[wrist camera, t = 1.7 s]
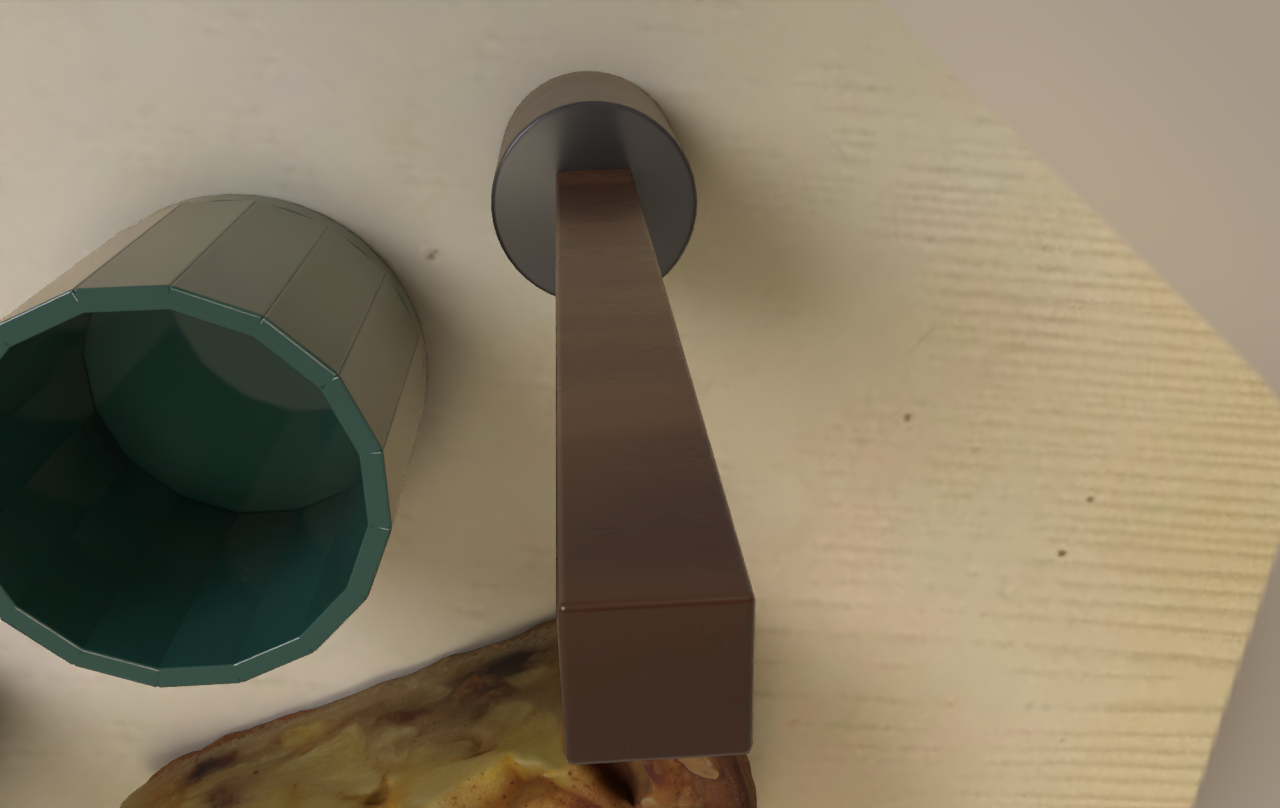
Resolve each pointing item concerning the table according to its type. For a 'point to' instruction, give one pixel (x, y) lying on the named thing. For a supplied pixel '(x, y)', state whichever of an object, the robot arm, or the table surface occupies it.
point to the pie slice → (439, 749)
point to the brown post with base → (627, 432)
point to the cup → (204, 442)
